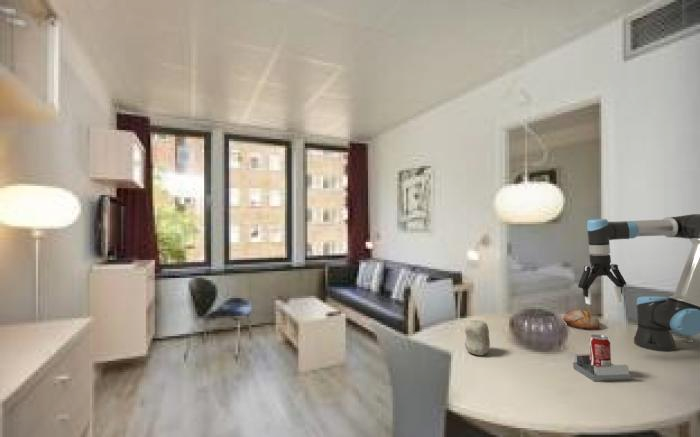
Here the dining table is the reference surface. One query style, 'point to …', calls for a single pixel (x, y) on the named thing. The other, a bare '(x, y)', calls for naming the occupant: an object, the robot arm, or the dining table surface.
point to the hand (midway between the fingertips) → (603, 302)
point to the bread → (581, 320)
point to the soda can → (599, 350)
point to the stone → (477, 337)
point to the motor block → (600, 370)
